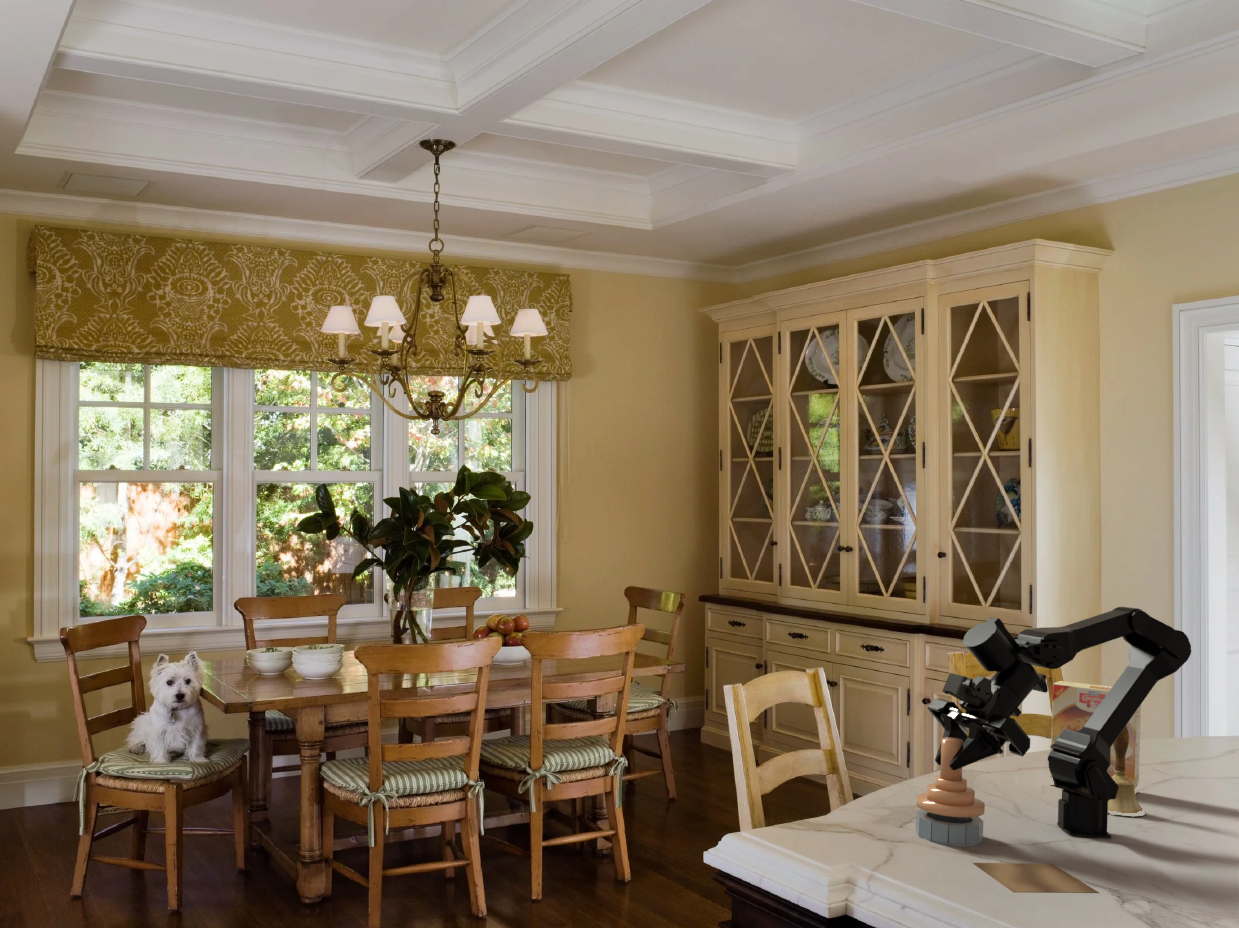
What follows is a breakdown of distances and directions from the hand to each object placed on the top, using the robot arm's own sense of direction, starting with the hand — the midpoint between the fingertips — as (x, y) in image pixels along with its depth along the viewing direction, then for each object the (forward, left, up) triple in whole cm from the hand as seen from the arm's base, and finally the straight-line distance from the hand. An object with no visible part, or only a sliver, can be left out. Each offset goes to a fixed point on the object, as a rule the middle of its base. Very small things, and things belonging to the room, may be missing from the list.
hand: (944, 765), depth 167 cm
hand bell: (-37, -27, -12) cm, 47 cm away
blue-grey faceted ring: (-1, -1, -11) cm, 11 cm away
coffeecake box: (-39, -44, -12) cm, 60 cm away
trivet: (-8, +17, -11) cm, 22 cm away
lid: (-1, -1, -7) cm, 7 cm away
